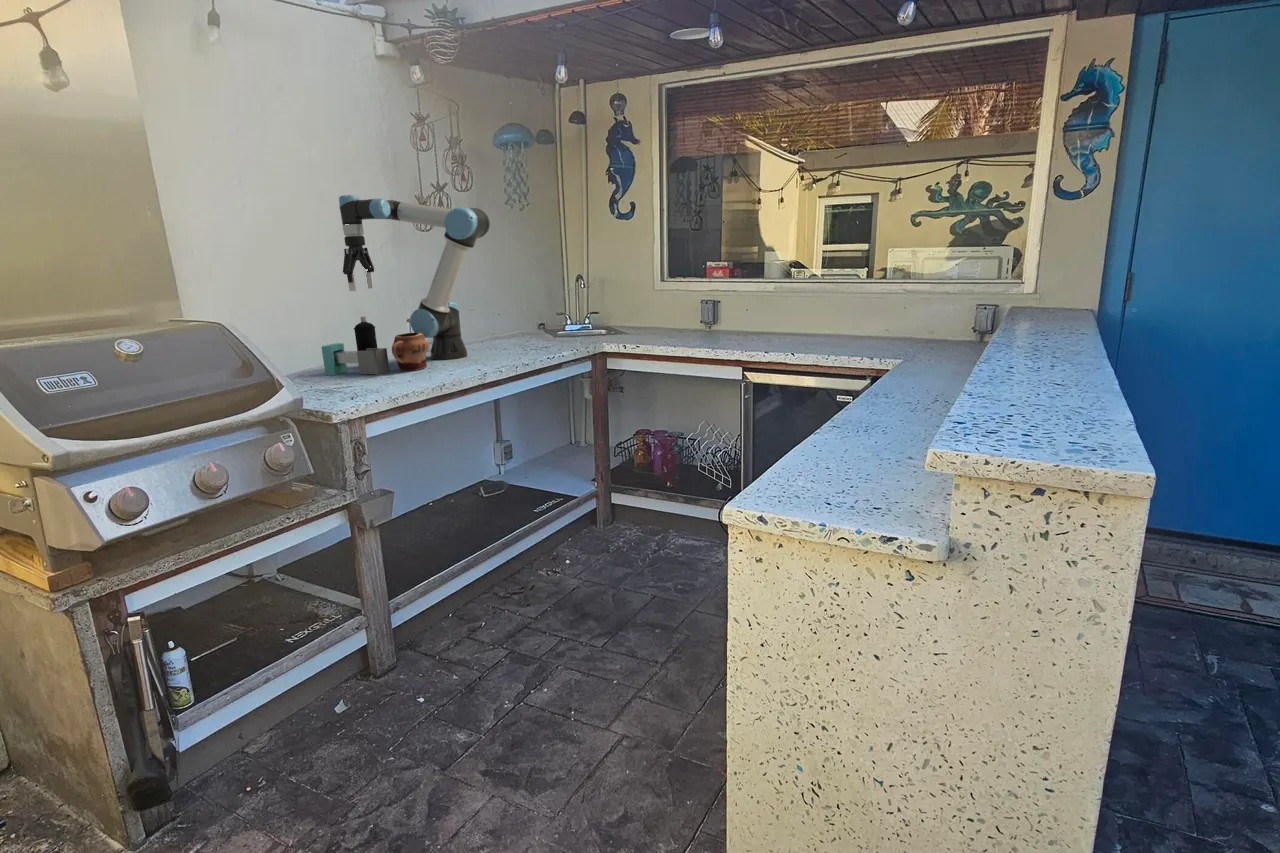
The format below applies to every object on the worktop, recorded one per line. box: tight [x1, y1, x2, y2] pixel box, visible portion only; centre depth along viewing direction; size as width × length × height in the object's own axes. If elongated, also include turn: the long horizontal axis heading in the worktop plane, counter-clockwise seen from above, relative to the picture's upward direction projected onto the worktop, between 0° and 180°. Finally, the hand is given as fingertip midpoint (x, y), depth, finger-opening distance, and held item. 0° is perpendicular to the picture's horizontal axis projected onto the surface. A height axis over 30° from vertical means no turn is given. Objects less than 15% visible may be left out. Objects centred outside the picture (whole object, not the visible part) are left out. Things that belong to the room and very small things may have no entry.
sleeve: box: [356, 347, 390, 376], centre depth 277 cm, size 8×7×9 cm
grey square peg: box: [333, 350, 358, 364], centre depth 279 cm, size 14×5×5 cm, turn 78°
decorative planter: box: [391, 332, 430, 372], centre depth 281 cm, size 20×12×14 cm, turn 167°
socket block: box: [321, 342, 348, 376], centre depth 280 cm, size 4×8×11 cm, turn 168°
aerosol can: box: [353, 316, 378, 351], centre depth 292 cm, size 8×8×20 cm
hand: (361, 289), depth 296 cm, fingers open, 13 cm apart
